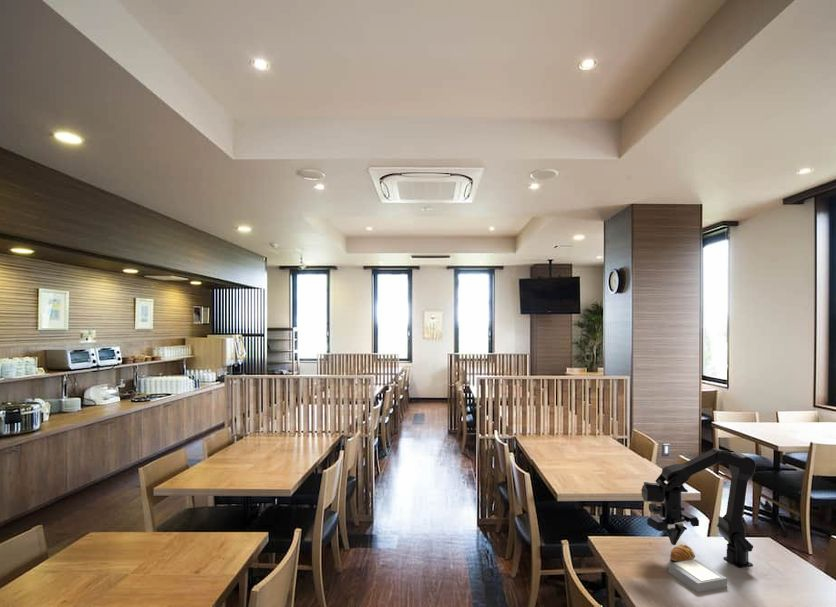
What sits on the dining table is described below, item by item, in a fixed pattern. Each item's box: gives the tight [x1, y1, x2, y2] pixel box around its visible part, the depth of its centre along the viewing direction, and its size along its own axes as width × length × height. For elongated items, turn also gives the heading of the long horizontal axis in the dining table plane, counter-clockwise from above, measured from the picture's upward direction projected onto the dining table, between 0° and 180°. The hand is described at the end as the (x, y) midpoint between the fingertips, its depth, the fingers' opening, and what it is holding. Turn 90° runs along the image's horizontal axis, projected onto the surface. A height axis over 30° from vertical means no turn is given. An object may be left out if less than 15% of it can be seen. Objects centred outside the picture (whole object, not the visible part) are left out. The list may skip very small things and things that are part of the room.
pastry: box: [669, 544, 696, 562], centre depth 163 cm, size 9×7×4 cm
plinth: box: [668, 558, 728, 593], centre depth 151 cm, size 12×12×3 cm
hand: (673, 544), depth 164 cm, fingers closed
